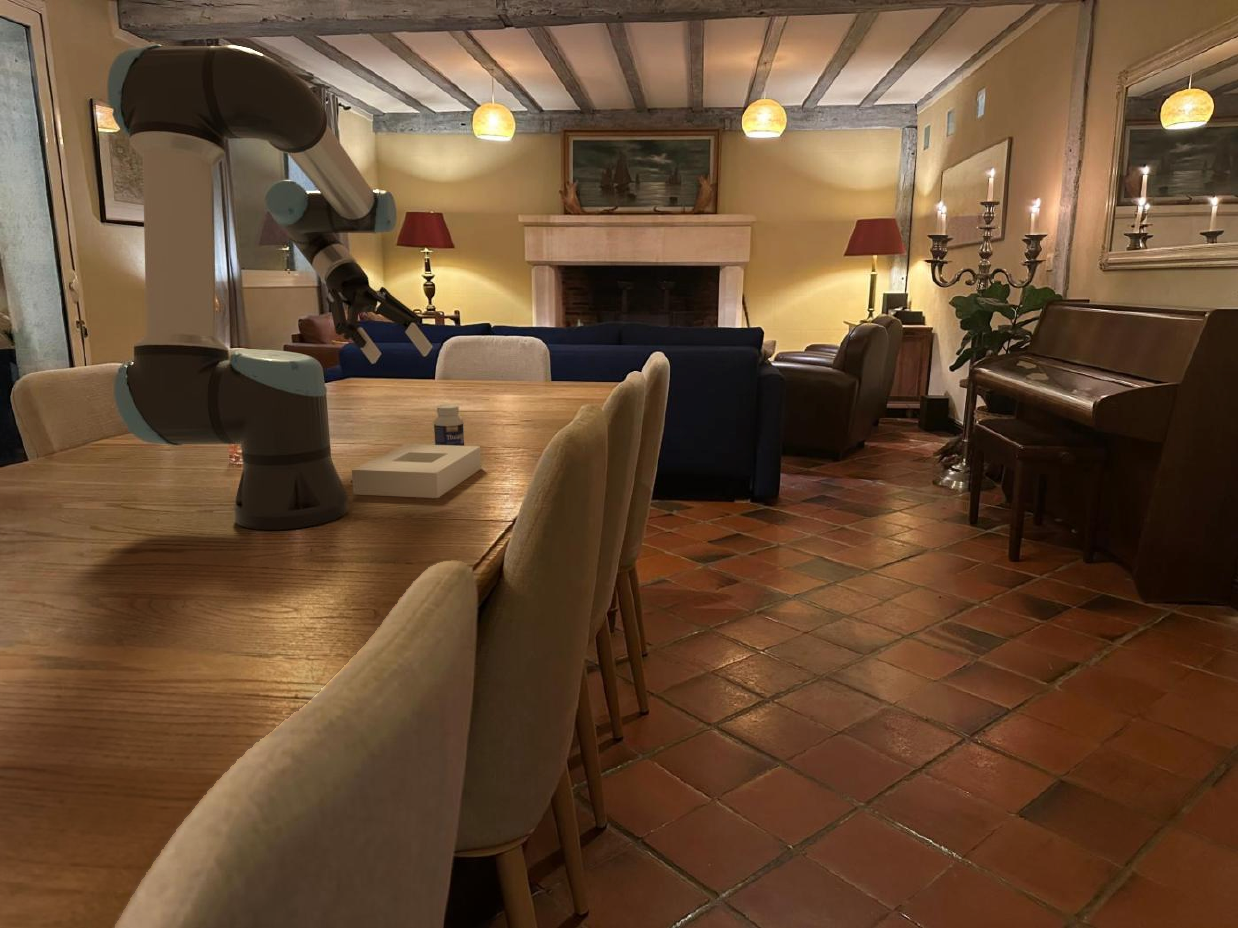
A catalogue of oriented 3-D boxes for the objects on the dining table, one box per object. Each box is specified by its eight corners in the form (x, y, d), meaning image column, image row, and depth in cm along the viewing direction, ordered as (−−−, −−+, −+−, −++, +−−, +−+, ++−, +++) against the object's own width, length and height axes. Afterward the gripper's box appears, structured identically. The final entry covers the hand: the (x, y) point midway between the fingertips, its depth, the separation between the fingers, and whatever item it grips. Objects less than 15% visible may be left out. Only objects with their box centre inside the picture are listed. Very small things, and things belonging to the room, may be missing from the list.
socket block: (353, 494, 128) (351, 469, 127) (407, 465, 147) (406, 443, 146) (437, 498, 125) (436, 472, 124) (481, 468, 144) (480, 446, 143)
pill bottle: (449, 461, 150) (446, 409, 148) (429, 457, 153) (426, 406, 151) (470, 456, 154) (468, 405, 152) (451, 452, 157) (449, 403, 155)
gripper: (380, 286, 171) (438, 361, 168) (279, 289, 150) (343, 375, 147) (397, 260, 167) (456, 336, 164) (296, 260, 146) (362, 347, 143)
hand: (403, 355), depth 155 cm, fingers open, 13 cm apart
